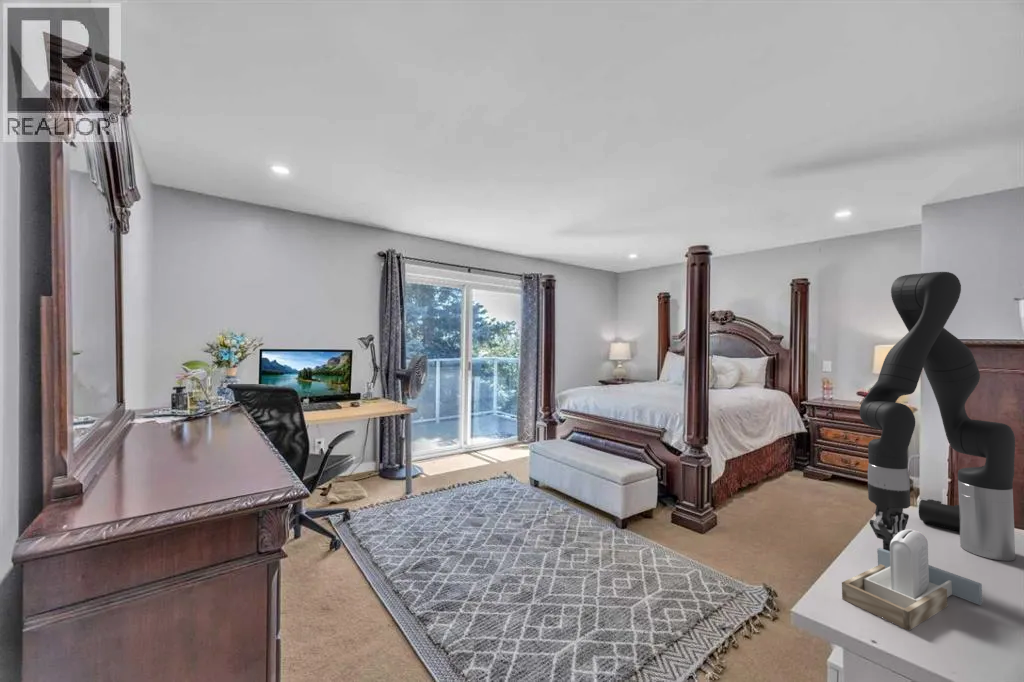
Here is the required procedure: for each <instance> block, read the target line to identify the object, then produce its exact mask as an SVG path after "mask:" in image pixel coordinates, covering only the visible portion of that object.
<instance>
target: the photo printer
mask: <svg viewBox="0 0 1024 682" xmlns="http://www.w3.org/2000/svg"><path fill="white" fill-rule="evenodd" d="M928 565H929V543H928V539H927V537H926V535H925V534H923V533H922V532H921V531H918V530H914V529H910V528H909V529H906V528H905V530H903V531H901V532H899V533H898V534H896V535H895V536H894V538H893V539H892V540H891V543H890V573H891V589H892V590H895V591H897V592H899V593H902V594H904V595H907V596H909V597H911V598H914V599H915V598H917V597H918V596H920V595H921V594H922V593H923V592H924V591H925V590H926V589H927V588H928V587H929V566H928Z"/></svg>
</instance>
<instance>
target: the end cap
mask: <svg viewBox="0 0 1024 682" xmlns="http://www.w3.org/2000/svg"><path fill="white" fill-rule="evenodd" d="M918 517H919V520H921V521H922V522H923V523H924V524H928V525H932V526H936V527H940V528H944V529H949V530H953V531H957V532H960V519H959V504H955V505H954V506H953V505H950V504H944V503H942V501H939V500H934V499H930V498H929V499H920V500H919V504H918Z"/></svg>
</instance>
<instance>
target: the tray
mask: <svg viewBox="0 0 1024 682" xmlns="http://www.w3.org/2000/svg"><path fill="white" fill-rule="evenodd" d="M880 564H882V565H884V566H885V569H883V570H881V571H879V572H877V573H875V574H873V575H871V576H869V577H867V578H865V579H864V588H865V591H867V592H869V593H871V594H873V595H876V596H878V597H880V598H883V599H885V600H887V601H889V602H892V603H894V604H896V605H898V606H901V607H903V608H907V607H908V606H910V605H912V604H913V603H915V602H917V601H919V600H920V599H922V598H924V597H926V596H927V595H929V594H931V593H932V592H934V591H936V590H938V589H939V588H941V587H942V588H945V589H947V598H948V597H949V596H952V595H953V596H956V597H958V598H960V599H963V600H967V601H969V602H971V603H974V604H976V605H979V606H981V605H982V604H983V586H982V585H983V584H982V583H980V582H978V581H976V580H972V579H969V578H967V577H965V576H961V575H958V574H955V573H953V572H950V571H947V570H945V569H941V568H938V567H936V566H932V565H929V564H928V566H929V587H928V588H927V589H926V590H925V591H924V592H923V593H922V594H921V595H920V596H918V597H917V598H915V599H914V598H911V597H909V596H907V595H904V594H902V593H899V592H897V591H895V590H892V589H891V573H890V551H887V550H885V549H883V547H882V548H881V547H879V548H877V566H878V565H880Z"/></svg>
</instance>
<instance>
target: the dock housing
mask: <svg viewBox="0 0 1024 682" xmlns="http://www.w3.org/2000/svg"><path fill="white" fill-rule="evenodd" d="M883 569H885V566H884V565H882V564H880V565H878V564H877V566H874V567H872V568H869V569H868V570H865V571H863V572H861V573H859V574H857V575H854V576H853V577H850V578H849V579H846V580H844V581H841V595H842V596H841V597H842V598H841V599H842V600H843V601H846V602H848V603H850V604H852V605H854V606H856V607H858V608H860V609H863V611H867V612H868V613H871V614H873V615H875V616H877V617H879V616H880V617H879V618H881V617H883V618H884V620H885V619H886V620H885V621H888V622H890V623H892V622H893V624H894V623H895V624H894V625H896V626H898V625H899V626H898V627H901V628H902V629H904V630H907V631H911V630H912V629H915V628H916V627H917V626H918V625H921V624H923V622H925V621H926V620H928V619H930V618H932V617H933V616H935V615H936V614H938V613H939V612H941V611H943V610H944V609H946V608H947V607H948V597H947V589H945V588H942V587H941V588H939V589H938V590H936V591H934V592H932V593H931V594H929V595H927V596H926V597H924V598H922V599H920V600H919V601H917V602H915V603H913V604H912V605H910V606H908V607H907V608H903V607H901V606H898V605H896V604H894V603H892V602H889V601H887V600H885V599H883V598H880V597H878V596H876V595H873V594H871V593H869V592H867V591H865V588H864V579H865V578H867V577H869V576H871V575H873V574H875V573H877V572H879V571H881V570H883ZM883 618H882V619H883Z"/></svg>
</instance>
